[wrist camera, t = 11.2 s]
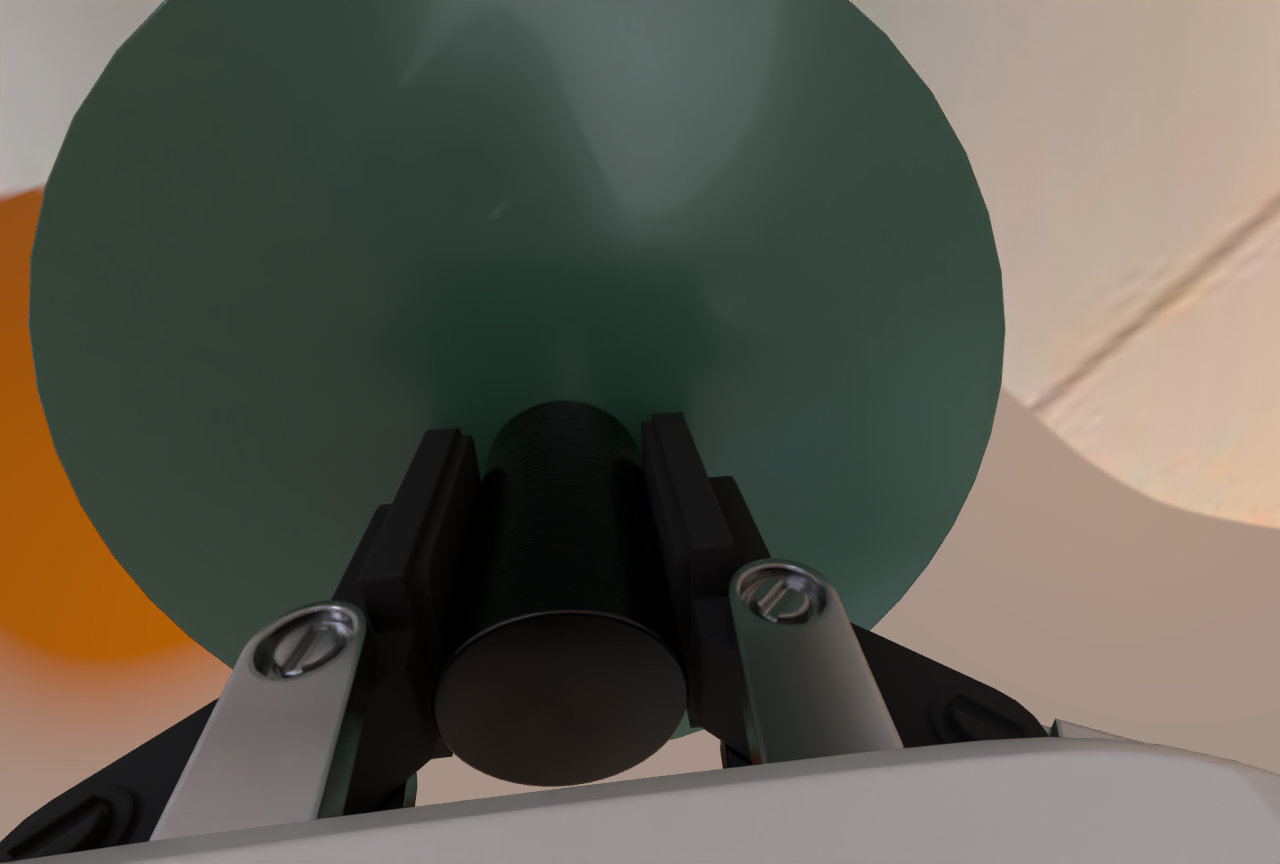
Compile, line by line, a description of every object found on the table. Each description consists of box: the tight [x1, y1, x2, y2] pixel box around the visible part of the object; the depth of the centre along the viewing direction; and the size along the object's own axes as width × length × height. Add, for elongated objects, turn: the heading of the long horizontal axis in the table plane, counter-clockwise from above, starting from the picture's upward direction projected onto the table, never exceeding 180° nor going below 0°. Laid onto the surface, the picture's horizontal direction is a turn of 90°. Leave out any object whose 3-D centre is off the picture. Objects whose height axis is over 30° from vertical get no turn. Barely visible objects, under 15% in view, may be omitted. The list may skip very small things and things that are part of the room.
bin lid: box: [28, 0, 1005, 787], centre depth 10 cm, size 18×18×7 cm
